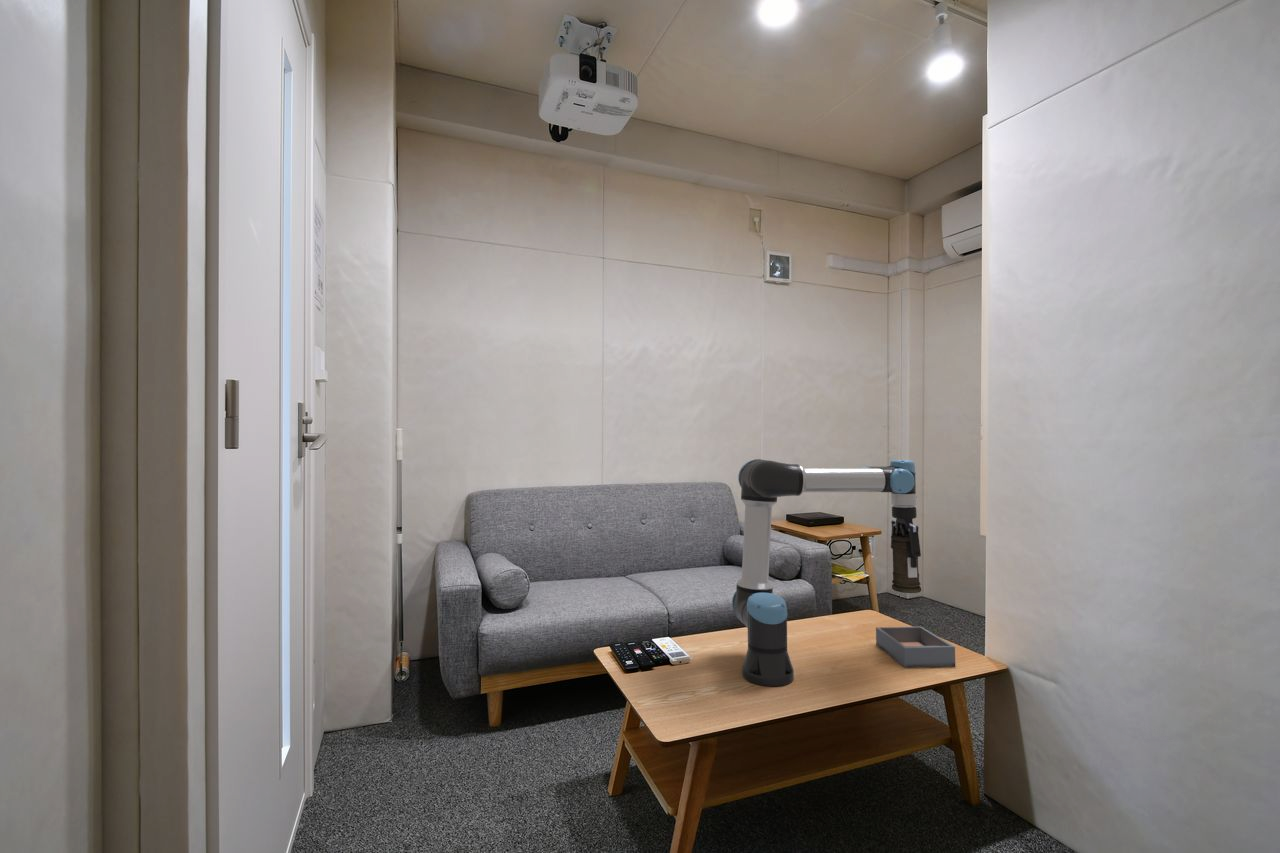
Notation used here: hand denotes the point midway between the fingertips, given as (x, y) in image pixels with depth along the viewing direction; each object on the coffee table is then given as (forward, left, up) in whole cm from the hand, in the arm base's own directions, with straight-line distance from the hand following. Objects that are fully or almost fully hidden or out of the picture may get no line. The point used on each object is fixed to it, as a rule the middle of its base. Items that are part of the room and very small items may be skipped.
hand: (905, 574), depth 192 cm
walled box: (+1, -3, -26) cm, 26 cm away
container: (0, 0, -5) cm, 5 cm away
